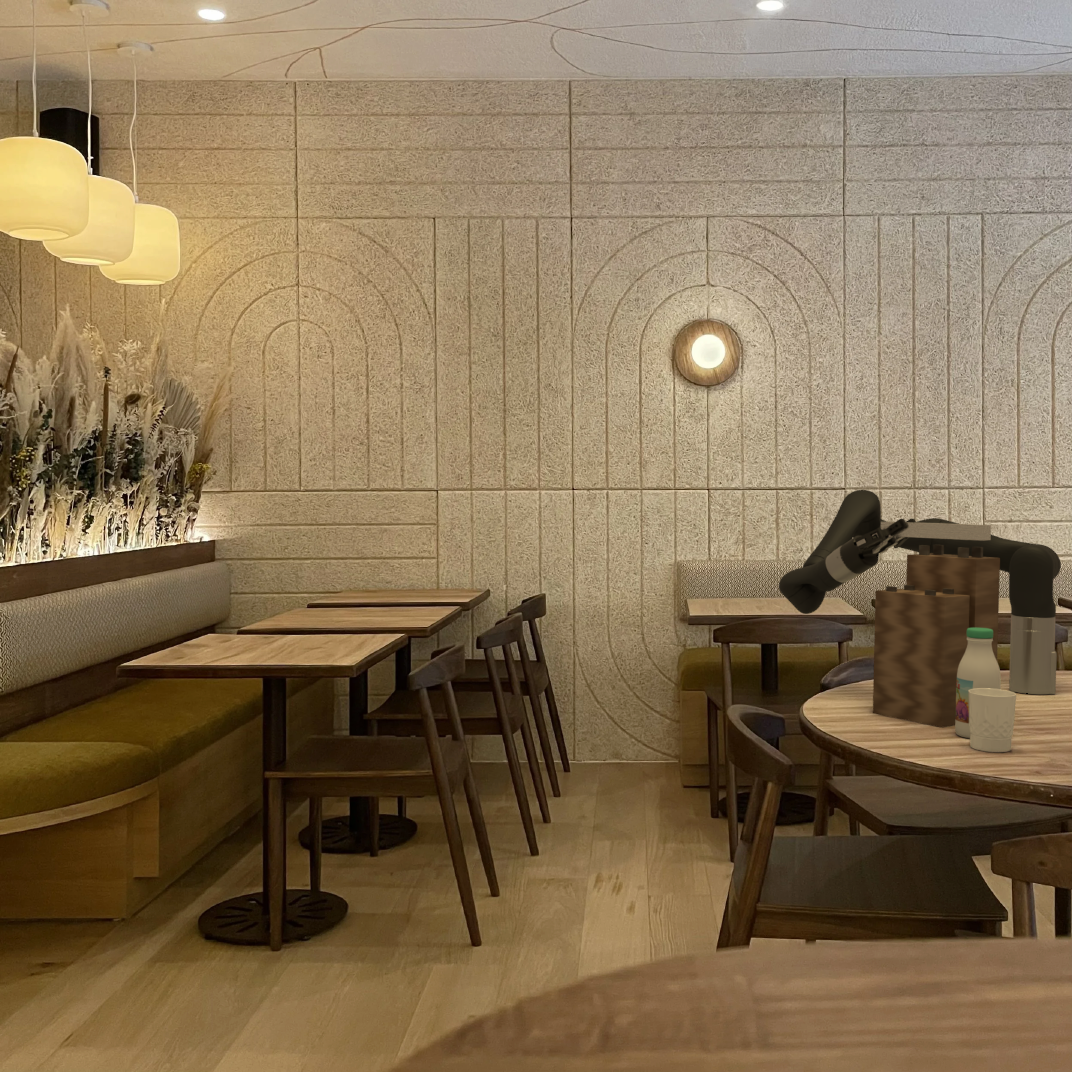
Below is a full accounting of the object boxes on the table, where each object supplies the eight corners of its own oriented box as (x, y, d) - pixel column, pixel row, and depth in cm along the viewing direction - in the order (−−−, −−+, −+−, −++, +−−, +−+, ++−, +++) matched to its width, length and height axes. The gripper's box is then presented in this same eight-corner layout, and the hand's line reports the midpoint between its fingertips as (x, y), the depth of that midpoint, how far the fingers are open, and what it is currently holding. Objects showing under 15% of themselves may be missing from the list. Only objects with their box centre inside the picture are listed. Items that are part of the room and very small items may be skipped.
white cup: (958, 743, 205) (960, 688, 205) (1001, 743, 206) (1002, 688, 206) (979, 753, 198) (981, 696, 197) (1023, 753, 198) (1024, 696, 198)
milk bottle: (998, 733, 214) (1001, 627, 213) (1000, 742, 207) (1003, 632, 206) (954, 730, 217) (957, 625, 216) (955, 738, 209) (958, 629, 209)
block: (880, 535, 245) (880, 521, 244) (889, 535, 246) (889, 521, 246) (981, 540, 225) (982, 525, 225) (990, 540, 227) (990, 525, 227)
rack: (872, 713, 232) (876, 546, 230) (926, 704, 242) (930, 544, 241) (941, 727, 219) (946, 550, 217) (995, 716, 230) (1000, 547, 228)
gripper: (824, 545, 250) (881, 507, 238) (865, 543, 258) (923, 506, 246) (837, 576, 247) (896, 538, 235) (878, 573, 256) (937, 537, 243)
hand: (909, 522), depth 240 cm, fingers closed on block, 3 cm apart
